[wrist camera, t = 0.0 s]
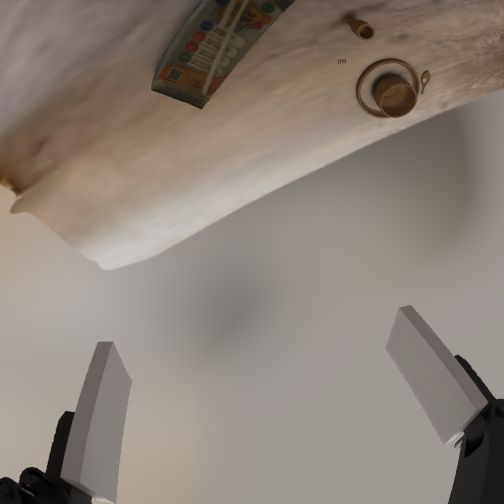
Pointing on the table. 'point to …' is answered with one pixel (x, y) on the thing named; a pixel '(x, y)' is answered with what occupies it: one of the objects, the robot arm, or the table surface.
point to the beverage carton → (212, 46)
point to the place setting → (388, 82)
